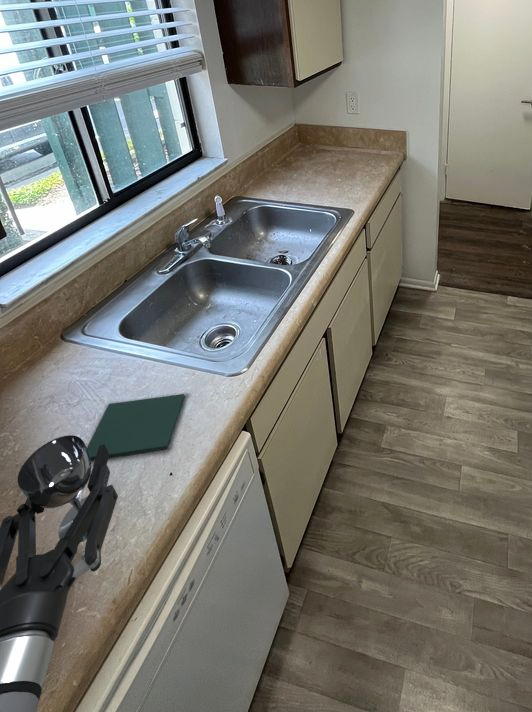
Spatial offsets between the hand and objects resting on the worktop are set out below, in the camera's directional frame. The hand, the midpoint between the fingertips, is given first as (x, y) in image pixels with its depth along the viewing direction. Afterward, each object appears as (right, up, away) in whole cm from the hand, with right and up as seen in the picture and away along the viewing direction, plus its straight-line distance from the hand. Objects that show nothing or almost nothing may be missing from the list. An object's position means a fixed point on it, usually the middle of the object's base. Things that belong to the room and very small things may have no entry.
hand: (78, 457), depth 71 cm
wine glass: (+2, -10, -1) cm, 10 cm away
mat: (-5, -9, +23) cm, 25 cm away
